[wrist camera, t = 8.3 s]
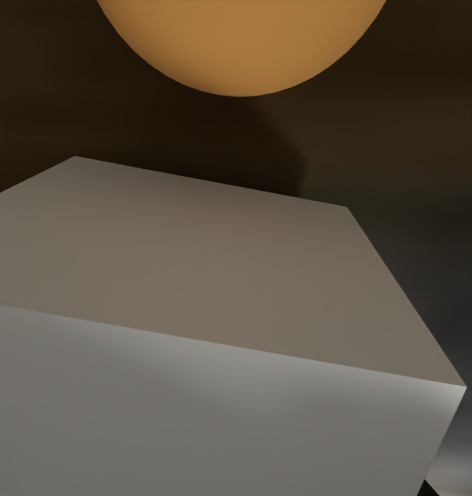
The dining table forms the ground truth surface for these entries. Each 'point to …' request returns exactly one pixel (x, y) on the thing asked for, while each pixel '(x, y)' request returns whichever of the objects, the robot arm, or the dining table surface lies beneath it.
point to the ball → (241, 39)
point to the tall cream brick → (205, 344)
